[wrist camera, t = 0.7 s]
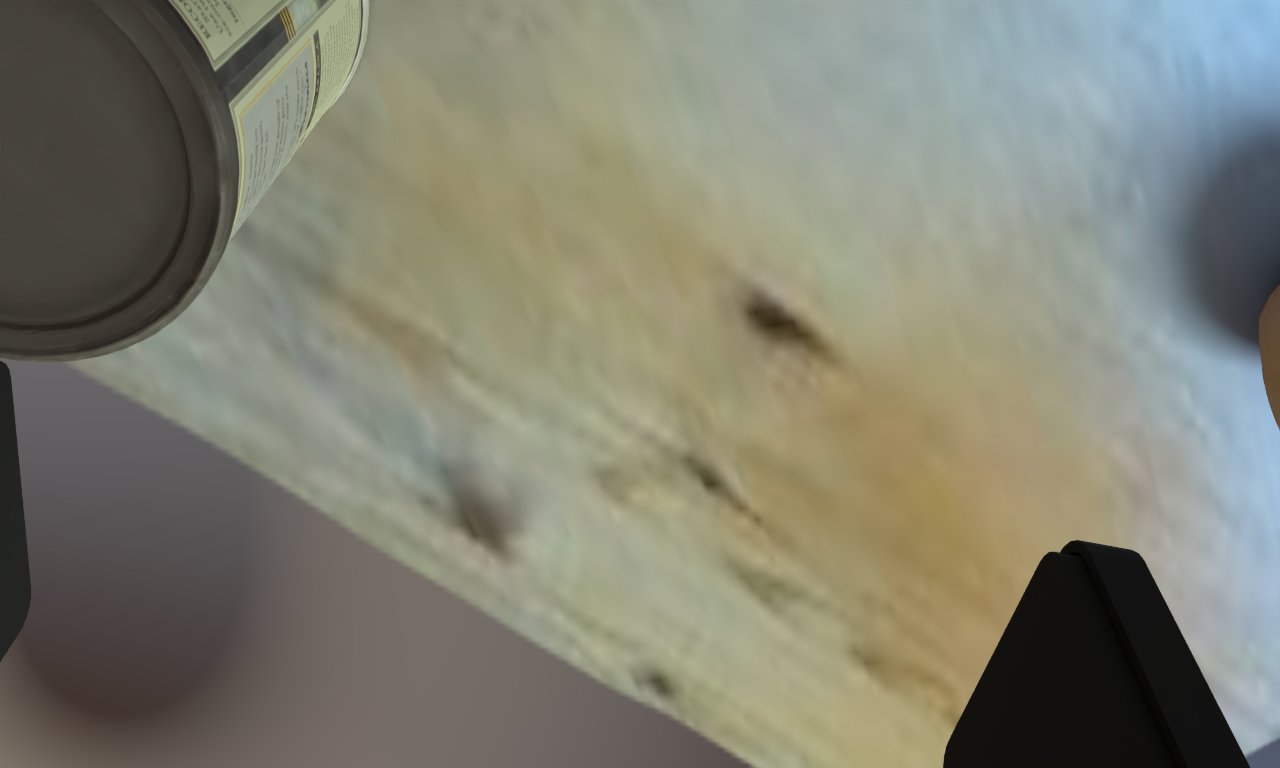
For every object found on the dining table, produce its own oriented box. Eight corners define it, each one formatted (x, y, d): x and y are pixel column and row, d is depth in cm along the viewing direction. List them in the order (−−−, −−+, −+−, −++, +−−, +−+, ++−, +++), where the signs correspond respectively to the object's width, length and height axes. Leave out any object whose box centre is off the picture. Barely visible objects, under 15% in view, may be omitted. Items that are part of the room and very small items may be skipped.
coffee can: (19, 84, 38) (-282, 281, 26) (50, -258, 33) (-308, -211, 21) (333, 190, 40) (187, 421, 28) (410, -119, 34) (271, 0, 22)
